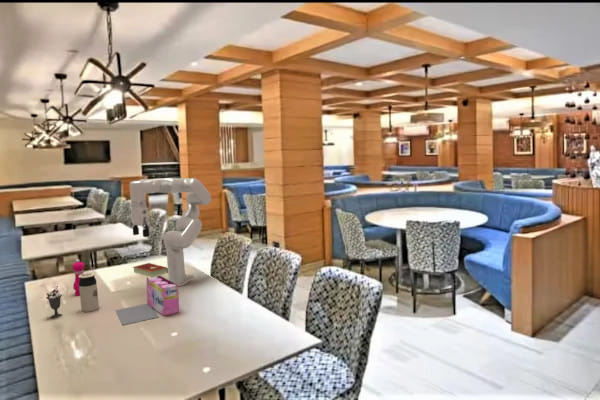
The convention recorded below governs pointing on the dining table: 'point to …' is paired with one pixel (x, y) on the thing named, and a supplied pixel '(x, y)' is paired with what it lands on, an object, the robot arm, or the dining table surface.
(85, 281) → the travel mug
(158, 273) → the hardcover book
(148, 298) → the gum box
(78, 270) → the pepper mill
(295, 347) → the dining table surface
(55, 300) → the sundae
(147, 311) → the rubber mat
